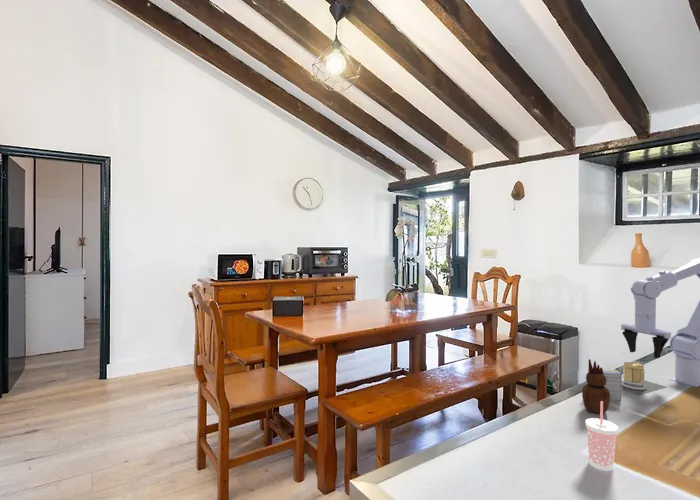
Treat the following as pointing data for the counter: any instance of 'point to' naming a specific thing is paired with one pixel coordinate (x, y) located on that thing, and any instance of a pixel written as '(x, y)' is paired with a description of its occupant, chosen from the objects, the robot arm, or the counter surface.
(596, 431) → the beverage cup
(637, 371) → the cap
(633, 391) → the mat
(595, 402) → the wooden figurine
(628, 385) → the stud post
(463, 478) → the counter surface
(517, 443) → the counter surface
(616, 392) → the medicine box
